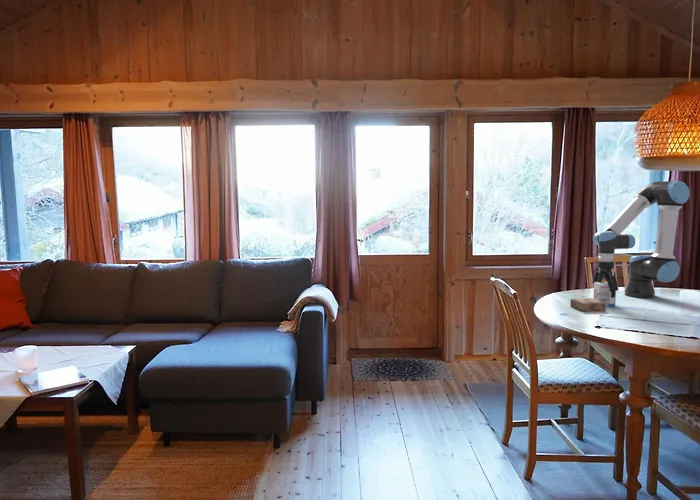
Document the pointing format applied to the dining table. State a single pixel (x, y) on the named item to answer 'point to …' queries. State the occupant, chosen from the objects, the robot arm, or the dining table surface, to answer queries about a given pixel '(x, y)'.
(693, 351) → the dining table surface
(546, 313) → the dining table surface
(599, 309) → the walnut frame
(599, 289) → the ink box
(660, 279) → the robot arm
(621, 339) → the dining table surface
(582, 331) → the dining table surface
